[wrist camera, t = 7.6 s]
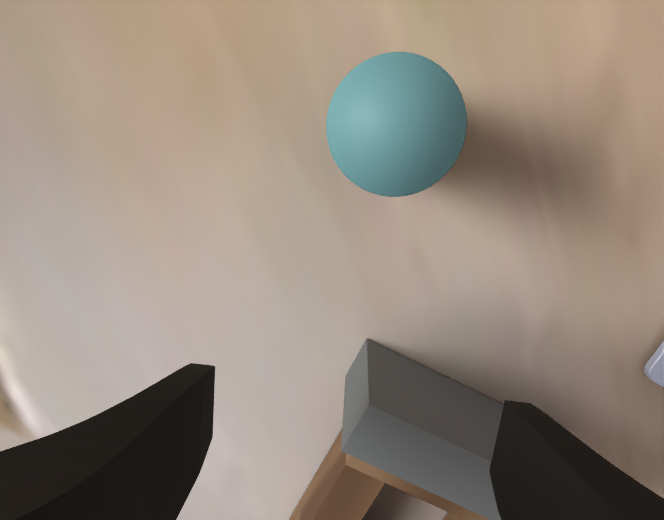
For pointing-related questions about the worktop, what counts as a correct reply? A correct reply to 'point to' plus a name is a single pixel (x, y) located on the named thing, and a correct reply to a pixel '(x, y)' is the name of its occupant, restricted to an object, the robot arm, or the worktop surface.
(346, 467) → the brown square frame
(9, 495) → the robot arm
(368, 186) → the dowel
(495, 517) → the board
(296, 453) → the worktop surface
